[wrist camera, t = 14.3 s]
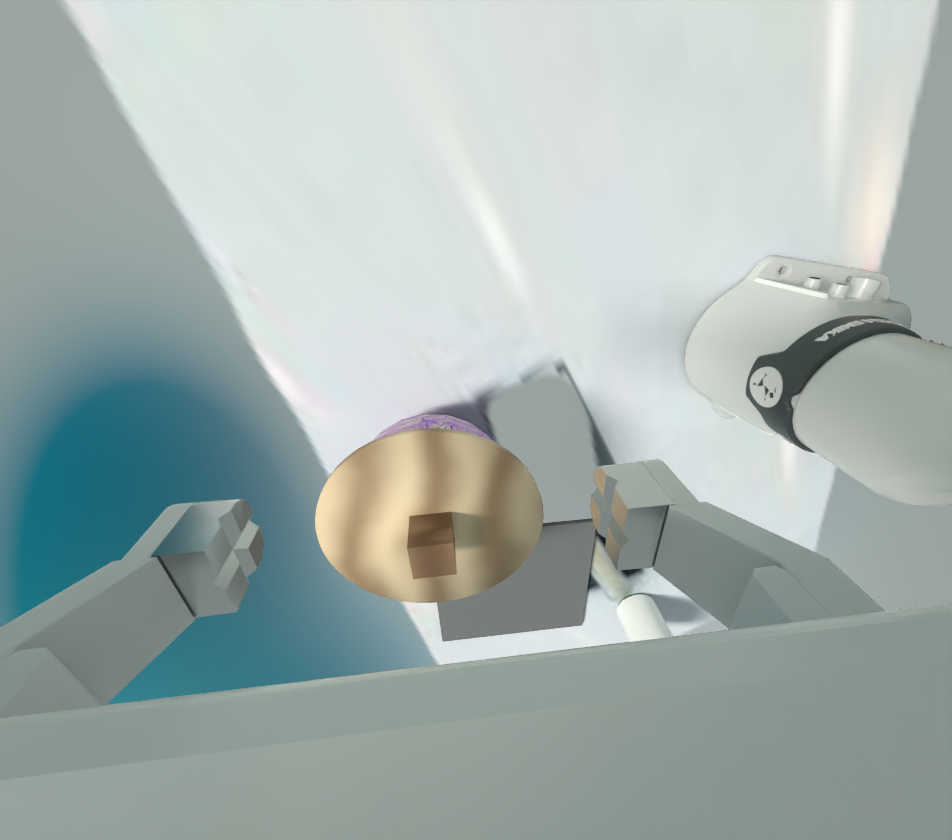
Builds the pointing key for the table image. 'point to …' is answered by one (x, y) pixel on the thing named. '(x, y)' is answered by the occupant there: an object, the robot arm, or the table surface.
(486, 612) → the rubber mat
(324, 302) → the table surface
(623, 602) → the can
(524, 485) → the oak bowl cover
